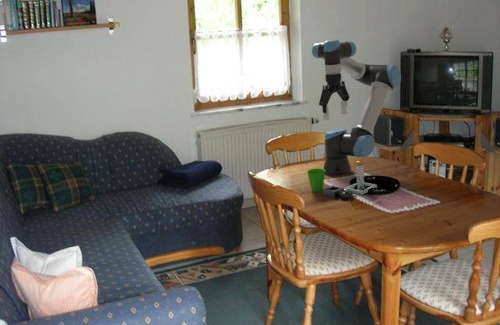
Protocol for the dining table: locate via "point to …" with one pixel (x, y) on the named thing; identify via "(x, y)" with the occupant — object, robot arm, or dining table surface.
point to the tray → (350, 188)
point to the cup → (316, 179)
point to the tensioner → (338, 193)
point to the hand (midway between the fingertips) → (335, 116)
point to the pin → (360, 174)
